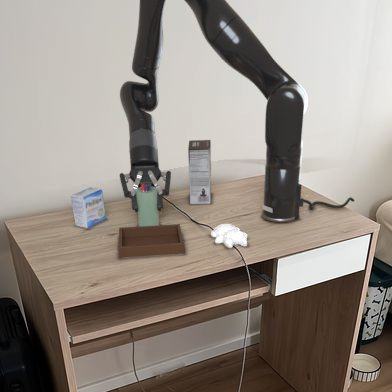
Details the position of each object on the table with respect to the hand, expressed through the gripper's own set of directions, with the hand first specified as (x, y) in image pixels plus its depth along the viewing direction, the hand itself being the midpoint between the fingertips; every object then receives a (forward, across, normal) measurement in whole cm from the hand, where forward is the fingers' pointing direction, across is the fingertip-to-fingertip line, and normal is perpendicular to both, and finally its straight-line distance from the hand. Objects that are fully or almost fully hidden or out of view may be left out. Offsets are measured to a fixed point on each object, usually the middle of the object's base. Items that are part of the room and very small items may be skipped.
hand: (148, 210), depth 142 cm
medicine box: (-1, -16, +8) cm, 18 cm away
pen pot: (+3, 0, +4) cm, 5 cm away
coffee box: (-11, +16, +18) cm, 26 cm away
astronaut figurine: (+11, +20, -4) cm, 23 cm away
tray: (+12, 0, -5) cm, 13 cm away
